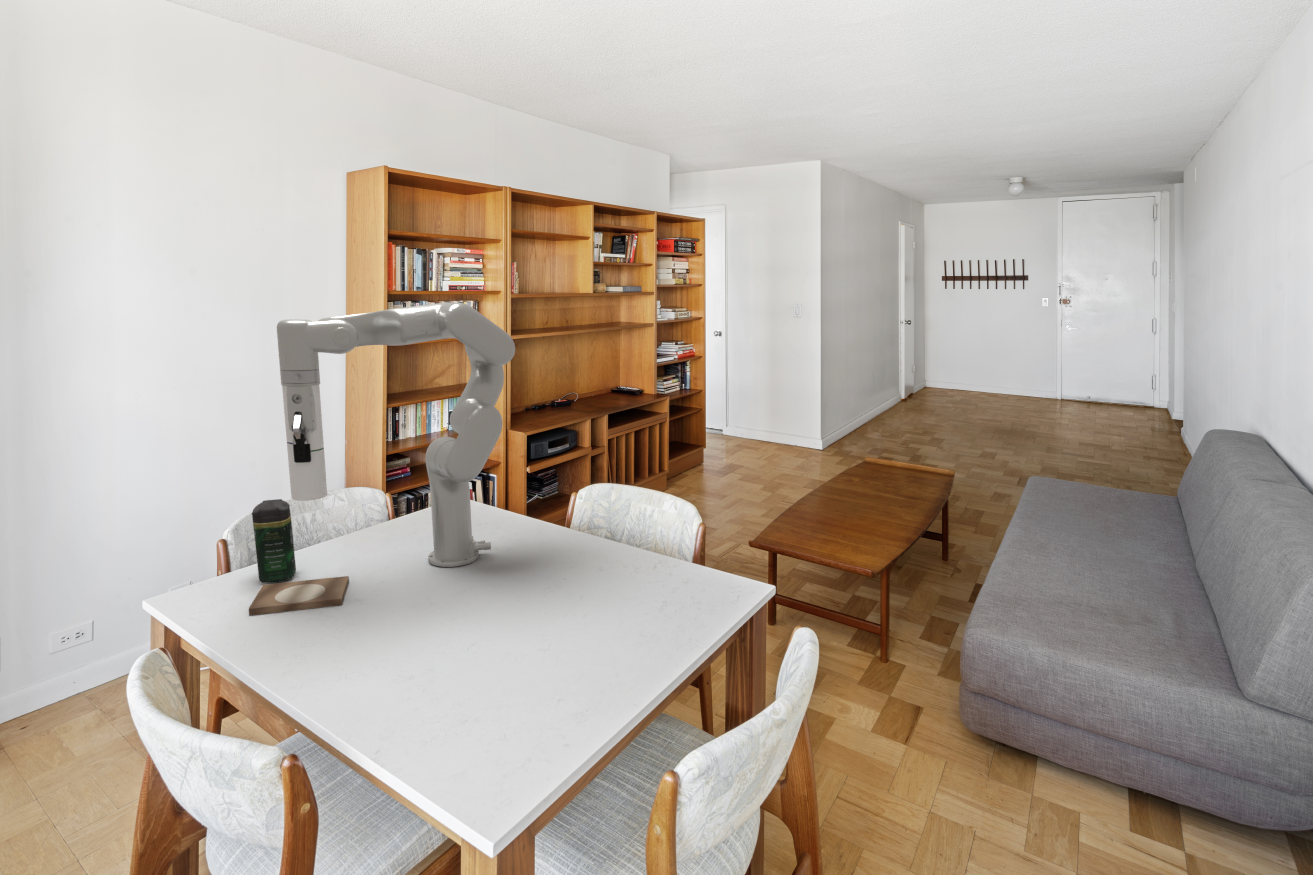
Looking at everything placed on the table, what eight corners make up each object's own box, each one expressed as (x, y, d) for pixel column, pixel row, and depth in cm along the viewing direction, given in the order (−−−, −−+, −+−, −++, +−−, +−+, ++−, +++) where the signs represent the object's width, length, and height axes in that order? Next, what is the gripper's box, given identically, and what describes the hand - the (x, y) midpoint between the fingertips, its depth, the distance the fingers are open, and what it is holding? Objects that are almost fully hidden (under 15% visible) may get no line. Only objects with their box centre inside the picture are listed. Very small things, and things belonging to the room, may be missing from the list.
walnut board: (349, 581, 164) (348, 575, 164) (341, 604, 152) (341, 598, 152) (263, 590, 159) (263, 584, 159) (249, 615, 147) (248, 608, 147)
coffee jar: (295, 581, 165) (287, 506, 161) (257, 586, 162) (248, 510, 158) (298, 567, 173) (290, 495, 170) (262, 571, 170) (253, 498, 166)
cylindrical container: (300, 491, 158) (291, 382, 154) (332, 492, 159) (324, 382, 154) (285, 500, 151) (275, 386, 147) (319, 500, 152) (310, 386, 147)
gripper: (311, 382, 143) (318, 466, 146) (326, 373, 159) (331, 449, 163) (271, 382, 141) (278, 468, 144) (290, 373, 157) (296, 450, 160)
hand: (306, 457), depth 153 cm, fingers closed on cylindrical container, 7 cm apart
